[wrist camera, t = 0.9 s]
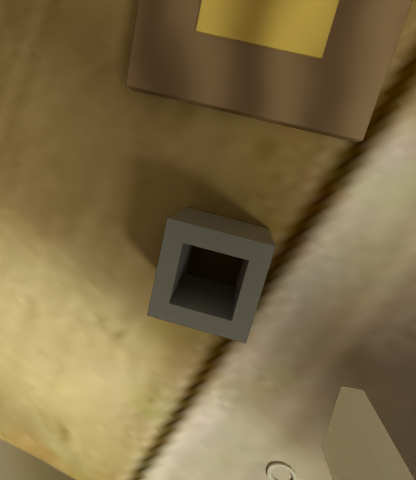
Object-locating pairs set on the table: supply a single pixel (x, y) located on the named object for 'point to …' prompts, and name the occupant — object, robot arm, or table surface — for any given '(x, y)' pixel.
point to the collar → (203, 290)
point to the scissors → (283, 465)
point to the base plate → (270, 58)
